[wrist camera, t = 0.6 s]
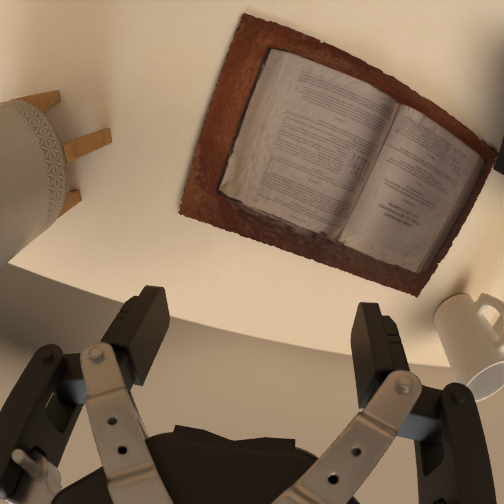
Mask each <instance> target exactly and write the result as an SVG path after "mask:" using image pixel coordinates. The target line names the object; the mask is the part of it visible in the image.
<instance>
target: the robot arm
mask: <svg viewBox="0 0 504 504" xmlns="http://www.w3.org/2000/svg"><path fill="white" fill-rule="evenodd" d="M169 322H170V315H169V310H168V304H167V299H166V294H165V289H164V288H163V287H157V286H148V285H146V286H145V287H144V288H143V290H142V292H141V293H140V295H139V296H133V297H132V298H130V299H129V300H128V301H126V302H125V303H124V305H123V306H122V308H121V310H120V312H119V313H118V314H117V316H116V318H115V319H114V320H113V322H112V323H111V325H110V327H109V328H108V330H107V331H106V333H105V335H104V336H103V338H102V339H101V341H100V342H96V343H93V344H90V345H88V346H87V347H85V349H84V350H83V351H82V352H81V353H77V354H64V353H63V351H62V349H61V348H60V347H59V346H57V345H55V344H49V345H45V346H42V347H41V348H39V349H38V350H37V351H36V352H35V354H34V355H33V357H32V359H31V360H30V362H29V363H28V365H27V366H26V368H25V370H24V371H23V373H22V375H21V376H20V378H19V380H18V381H17V383H16V385H15V386H14V388H13V390H12V391H11V393H10V395H9V397H8V398H7V400H6V402H5V404H4V405H3V407H2V409H1V411H0V500H1V501H3V502H4V503H6V504H360V503H359V502H358V501H357V500H356V499H355V498H354V496H353V495H354V494H355V492H356V491H357V490H358V488H359V487H360V486H361V485H362V484H363V482H364V481H365V480H366V478H367V477H368V476H369V474H370V473H371V472H372V470H373V469H374V468H375V466H376V465H377V463H378V462H379V460H380V459H381V458H382V456H383V455H384V453H385V452H386V451H387V449H388V447H389V446H390V445H391V443H392V441H393V440H394V438H395V437H396V436H399V437H404V438H408V439H413V440H414V444H415V453H416V464H417V477H418V493H419V494H418V495H419V504H497V502H496V495H495V488H494V482H493V476H492V470H491V464H490V459H489V454H488V450H487V445H486V440H485V436H484V432H483V428H482V424H481V420H480V416H479V412H478V409H477V405H476V402H475V398H474V395H473V393H472V391H471V390H470V389H469V388H468V387H467V386H465V385H464V384H461V383H451V384H448V385H447V386H446V387H445V388H444V389H443V390H439V389H434V388H430V387H426V386H424V385H422V384H421V381H420V380H419V378H418V377H417V376H416V375H415V374H413V373H412V372H410V369H409V366H408V362H407V359H406V355H405V352H404V348H403V345H402V344H401V338H400V336H399V332H398V328H397V325H396V324H395V322H394V321H393V320H392V319H391V318H390V317H389V316H382V315H381V311H380V308H379V305H378V303H366V302H360V303H359V305H358V308H357V312H356V316H355V320H354V324H353V327H352V332H351V349H352V356H353V364H354V371H355V378H356V388H357V396H358V405H359V409H360V408H364V409H363V410H362V412H359V413H358V414H357V415H356V416H355V417H354V418H353V420H352V421H351V422H350V423H349V424H348V426H347V427H346V428H345V429H344V430H343V431H342V433H341V434H340V435H339V436H338V437H337V439H336V440H335V441H334V442H333V443H332V444H331V445H330V447H329V448H328V449H327V450H326V451H325V452H324V453H323V454H322V455H321V457H320V458H318V457H316V456H315V455H314V454H312V453H310V452H308V451H306V450H303V449H301V448H297V447H295V439H281V438H268V437H267V438H266V437H264V438H256V439H247V440H237V441H233V440H229V439H226V438H224V437H221V436H218V435H216V434H213V433H211V432H208V431H206V430H202V429H196V428H190V427H184V426H179V425H175V428H174V431H173V432H169V433H162V434H158V435H155V436H152V437H149V435H148V433H147V431H146V429H145V426H144V424H143V422H142V419H141V417H140V414H139V412H138V409H137V407H136V404H135V402H134V399H133V396H132V393H131V391H130V390H131V388H132V386H133V384H135V385H140V386H143V384H144V382H145V379H146V377H147V375H148V372H149V370H150V368H151V366H152V363H153V361H154V359H155V356H156V354H157V352H158V350H159V348H160V345H161V343H162V341H163V339H164V337H165V334H166V332H167V330H168V327H169ZM52 393H53V395H52ZM51 395H52V397H51ZM50 397H51V398H50ZM49 399H50V400H49ZM48 401H49V402H48ZM47 403H48V405H47ZM84 404H86V408H87V413H88V417H89V421H90V425H91V428H92V431H93V436H94V439H95V442H96V446H97V449H98V453H99V456H100V459H101V462H102V465H103V466H102V467H100V468H99V469H97V470H95V471H94V472H92V473H90V474H89V475H87V476H85V477H83V478H82V479H80V480H78V481H77V482H75V483H73V484H71V485H69V486H67V487H66V488H64V489H62V490H61V487H62V486H61V476H60V472H59V471H58V469H57V468H58V465H59V463H60V460H61V457H62V455H63V452H64V450H65V447H66V445H67V442H68V440H69V438H70V435H71V433H72V430H73V428H74V426H75V423H76V421H77V419H78V416H79V414H80V412H81V410H82V407H83V405H84ZM46 405H47V406H46ZM45 407H46V408H45ZM60 490H61V491H60Z"/></svg>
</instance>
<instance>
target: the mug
mask: <svg viewBox="0 0 504 504" xmlns="http://www.w3.org/2000/svg"><path fill="white" fill-rule="evenodd" d="M488 306H493V307H494V308H496V309H497V310H498V311H499V313H500V314H501V315H502V318H503V324H504V303H503V302H502V301H501V300H499V299H497V298H495V297H493V296H490V295H488V294H485V293H482V294H480V296H479V298H478V299H477V301H476V302H475V301H474V300H473V299H472V297H470V296H469V295H466V294H458V295H454V296H452V297H450V298H448V299H447V300H445V301H444V302H443V303H442V304H441V305H440V306H439V308H438V309H437V311H436V313H435V316H434V325H435V328H436V330H437V333H438V335H439V338H440V340H441V343H442V345H443V348H444V350H445V353H446V356H447V358H448V361H449V364H450V366H451V369H452V371H453V374H454V377H455V380H456V383H461V384H464V385H465V386H467V387H468V388H469V389H470V390H471V391H472V393H473V395H474V398H475V402H477V401H481V400H483V399H486V398H488V397H489V396H491V395H493V394H494V393H496V392H497V391H498V390H500V389H501V388H502V387H503V386H504V329H503V334H502V336H501V338H500V339H499V338H498V337H497V335H496V333H495V332H494V330H493V329H492V327H491V325H490V324H489V322H488V321H487V319H486V317H485V316H484V314H483V313H484V311H485V309H486V308H487V307H488Z"/></svg>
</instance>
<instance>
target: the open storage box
mask: <svg viewBox="0 0 504 504" xmlns="http://www.w3.org/2000/svg"><path fill="white" fill-rule="evenodd" d="M494 170H496V171H498V172H499V173H501V174H503V175H504V139H503V142H502V146H501V149H500V152H499V155H498V158H497V161H496V164H495V167H494Z"/></svg>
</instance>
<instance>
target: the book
mask: <svg viewBox="0 0 504 504" xmlns="http://www.w3.org/2000/svg"><path fill="white" fill-rule="evenodd" d="M235 35H236V36H235V37H234V38H235V39H234V41H232V43H231V46H230V51H229V53H228V54H227V57H226V62H225V63H224V66H223V69H222V70H221V71H222V72H221V75H220V77H219V80H218V81H219V83H218V84H216V87H217V88H216V90H215V92H214V94H213V95H214V96H212V97H213V99H212V100H211V102H210V105H209V112H208V113H207V116H206V119H205V121H204V127H202V132H201V134H200V135H201V136H200V138H199V141H198V143H197V147H196V149H195V154H196V155H194V157H193V162H192V165H191V167H190V171H189V176H188V177H189V178H188V179H187V183H188V185H187V186H185V189H184V193H185V194H183V197H182V204H180V211H179V214H180V215H184V216H185V217H190V218H192V219H196V220H198V221H199V222H200V221H201V222H205V223H209V224H211V225H212V226H214V227H218V228H221V229H225V230H226V231H229V232H232V231H233V232H234V233H238V234H239V235H240V236H243V237H246V238H251V239H253V240H256V241H258V242H262V243H264V244H268V245H270V246H273V245H274V246H275V247H277V248H280V249H282V250H285V251H288V252H292V253H294V254H296V255H299V256H304V257H305V258H308V259H313V260H315V261H317V262H318V263H322V264H325V265H328V266H330V267H334V268H338V269H340V270H343V271H345V272H346V271H347V272H349V273H353V275H356V276H358V277H362V278H365V279H366V280H370V281H374V282H376V283H379V284H381V285H383V286H387V287H391V288H394V289H396V290H398V291H399V290H400V291H401V292H405V293H410V294H411V295H413V296H415V297H416V298H417V297H418V296H419V295H420V292H421V289H423V288H424V286H425V285H427V282H428V281H429V280H430V277H431V276H432V274H433V273H434V272H435V270H436V269H437V266H438V264H437V263H441V262H440V261H441V260H442V259H444V256H445V255H446V254H447V252H448V251H449V248H450V247H451V246H452V244H453V243H452V241H454V239H455V237H457V235H458V233H459V232H460V229H461V227H462V225H463V224H464V223H465V221H466V219H467V217H468V215H469V213H470V212H471V209H472V208H473V206H474V203H475V202H476V200H477V199H476V198H477V197H478V195H479V194H480V192H481V190H482V188H483V185H484V184H485V181H486V179H487V177H488V175H489V173H490V171H491V168H492V164H494V163H495V159H496V157H497V156H498V152H497V151H496V150H495V149H494V148H491V147H489V146H488V145H487V144H486V143H485V142H484V141H481V140H479V138H478V137H477V136H476V135H475V134H474V133H473V132H472V131H471V130H469V129H468V128H467V127H466V126H464V125H463V124H462V123H460V122H459V121H458V120H456V119H455V118H454V117H453V116H450V115H449V114H448V113H447V111H445V110H443V109H441V108H440V107H439V106H437V105H436V104H434V103H433V102H432V101H430V100H428V99H426V98H425V97H421V96H419V94H418V93H417V92H416V91H413V90H411V89H410V88H409V86H407V85H405V84H403V83H401V82H400V81H398V80H397V79H395V78H394V77H393V76H389V75H386V74H384V73H383V72H382V71H381V70H380V69H378V68H375V67H373V66H370V65H368V64H367V63H366V62H364V61H363V60H361V59H359V58H356V57H354V56H352V55H350V54H348V53H347V52H344V51H342V50H340V49H338V48H336V47H334V46H332V45H329V44H327V43H325V42H323V43H320V42H321V41H320V40H318V39H315V38H313V37H311V36H307V35H305V34H303V33H301V32H298V31H295V30H294V29H290V28H289V27H285V26H281V25H279V24H277V23H275V22H272V21H269V22H268V21H265V20H263V19H260V18H255V17H254V16H251V15H248V14H245V13H244V14H243V15H242V21H241V22H240V26H239V27H238V28H237V31H236V33H235Z"/></svg>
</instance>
